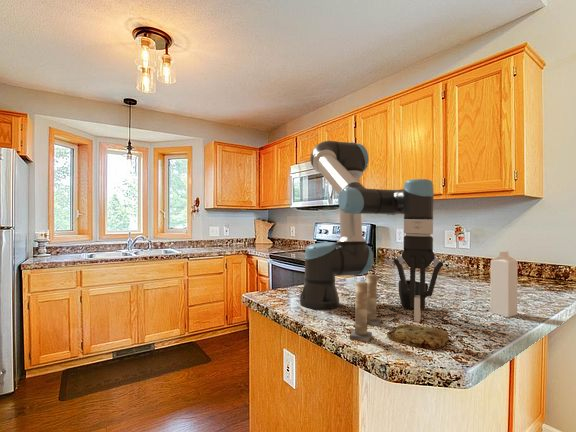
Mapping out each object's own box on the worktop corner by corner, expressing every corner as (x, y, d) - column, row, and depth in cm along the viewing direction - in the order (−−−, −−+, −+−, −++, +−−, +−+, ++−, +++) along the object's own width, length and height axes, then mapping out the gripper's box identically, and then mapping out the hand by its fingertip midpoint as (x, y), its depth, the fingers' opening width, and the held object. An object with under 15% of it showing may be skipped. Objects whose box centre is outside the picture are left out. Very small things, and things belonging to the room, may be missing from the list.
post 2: (361, 323, 97) (361, 275, 97) (364, 319, 102) (365, 273, 102) (377, 326, 95) (378, 277, 95) (380, 321, 100) (380, 274, 100)
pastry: (467, 351, 78) (467, 339, 78) (401, 353, 77) (401, 341, 77) (430, 327, 96) (430, 318, 96) (375, 328, 94) (375, 318, 94)
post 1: (349, 338, 85) (350, 283, 85) (354, 332, 89) (354, 280, 89) (368, 342, 82) (368, 285, 83) (371, 335, 87) (372, 282, 87)
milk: (517, 315, 109) (518, 252, 109) (508, 317, 106) (509, 252, 106) (498, 310, 114) (499, 250, 114) (489, 312, 111) (490, 251, 111)
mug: (435, 309, 114) (435, 283, 114) (407, 311, 111) (408, 285, 111) (419, 303, 122) (420, 279, 122) (393, 305, 119) (394, 280, 119)
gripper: (391, 234, 86) (390, 320, 86) (444, 236, 80) (443, 328, 80) (395, 233, 93) (394, 313, 92) (444, 235, 87) (443, 319, 87)
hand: (417, 320), depth 86 cm, fingers closed
